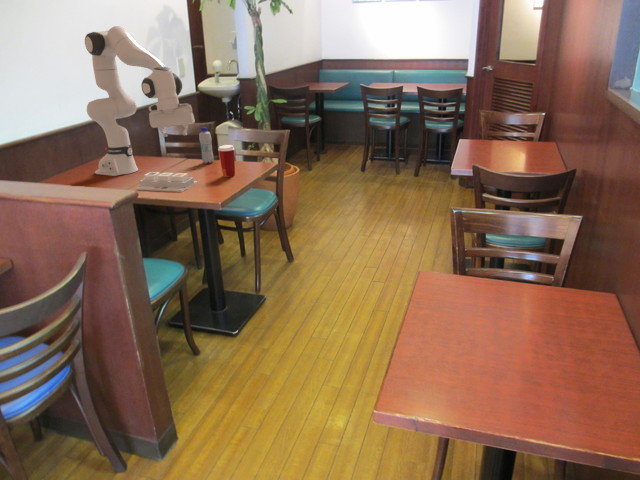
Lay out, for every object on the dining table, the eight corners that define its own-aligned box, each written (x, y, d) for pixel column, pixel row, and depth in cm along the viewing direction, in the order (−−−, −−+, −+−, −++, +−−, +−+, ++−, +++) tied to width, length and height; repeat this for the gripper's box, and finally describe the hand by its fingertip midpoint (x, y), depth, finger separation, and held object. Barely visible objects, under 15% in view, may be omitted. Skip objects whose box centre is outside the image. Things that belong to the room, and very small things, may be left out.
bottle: (211, 164, 283) (207, 128, 275) (200, 164, 284) (195, 128, 276) (216, 161, 289) (212, 125, 281) (205, 161, 290) (200, 125, 283)
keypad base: (137, 189, 242) (135, 182, 241) (154, 181, 255) (153, 174, 254) (182, 192, 236) (181, 184, 234) (197, 182, 249) (196, 175, 247)
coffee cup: (239, 173, 262) (236, 144, 256) (233, 178, 254) (230, 148, 248) (225, 173, 264) (221, 144, 258) (218, 177, 256) (214, 148, 251)
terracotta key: (172, 182, 241) (171, 175, 239) (178, 179, 245) (177, 172, 244) (183, 182, 239) (182, 176, 238) (188, 179, 244) (187, 173, 243)
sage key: (158, 181, 242) (157, 175, 241) (164, 178, 247) (163, 172, 246) (168, 182, 241) (167, 175, 240) (175, 178, 246) (174, 172, 245)
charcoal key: (145, 181, 244) (143, 174, 243) (151, 177, 249) (150, 171, 248) (155, 181, 243) (153, 175, 242) (161, 178, 248) (160, 172, 247)
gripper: (193, 102, 229) (199, 132, 233) (151, 106, 232) (157, 136, 237) (188, 103, 223) (194, 135, 228) (145, 107, 226) (151, 139, 231)
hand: (175, 136), depth 232 cm, fingers open, 8 cm apart
